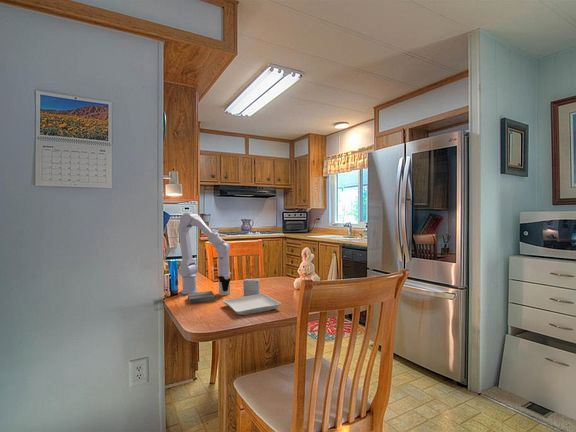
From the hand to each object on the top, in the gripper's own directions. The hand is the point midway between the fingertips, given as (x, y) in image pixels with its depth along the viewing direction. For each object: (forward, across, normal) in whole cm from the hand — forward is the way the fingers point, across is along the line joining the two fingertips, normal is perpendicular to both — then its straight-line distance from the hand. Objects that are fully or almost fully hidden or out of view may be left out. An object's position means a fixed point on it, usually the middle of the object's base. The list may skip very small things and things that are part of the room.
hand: (224, 290), depth 174 cm
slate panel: (+2, -7, +13) cm, 15 cm away
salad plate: (+2, -32, -6) cm, 33 cm away
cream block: (+2, 0, 0) cm, 2 cm away
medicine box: (+2, -12, -12) cm, 17 cm away
